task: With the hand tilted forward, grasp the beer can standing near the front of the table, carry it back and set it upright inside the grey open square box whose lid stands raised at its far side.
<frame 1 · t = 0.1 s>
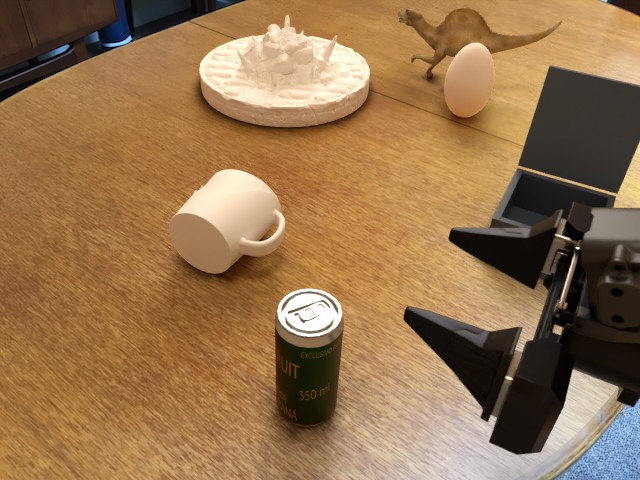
hand: (429, 270, 41), 18 cm above the table, tool horizontal, fingers open, 9 cm apart
egg: (461, 116, 95), on the table
dinosaur figurine: (462, 87, 103), on the table
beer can: (306, 404, 53), on the table
chest lid: (584, 130, 68), point 12 cm above the table, hinge at 100.0°
mug: (235, 251, 69), on the table
cake: (285, 87, 101), on the table
grey open square box: (541, 245, 71), on the table
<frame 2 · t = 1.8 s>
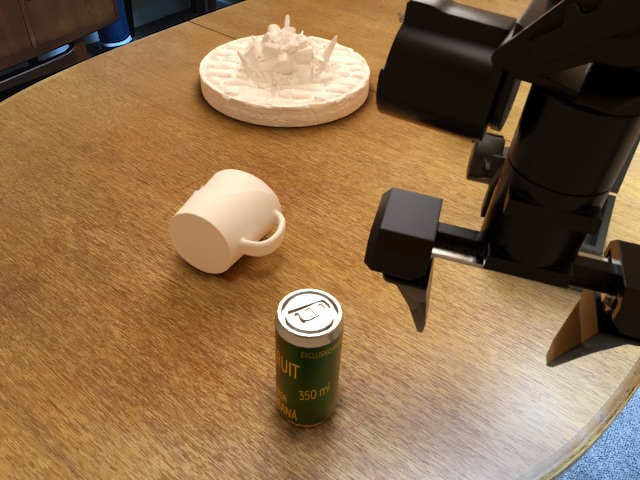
hand: (483, 344, 43), 13 cm above the table, tool pointing down, fingers open, 9 cm apart
nothing on the table moved.
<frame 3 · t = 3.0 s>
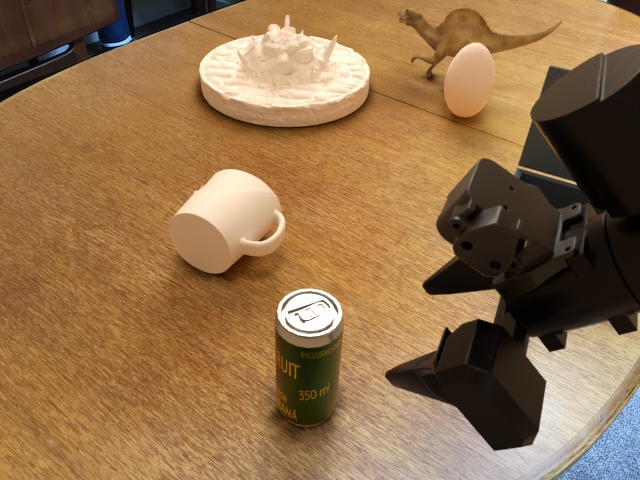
hand: (408, 330, 42), 13 cm above the table, tool tilted 45°, fingers open, 9 cm apart
nothing on the table moved.
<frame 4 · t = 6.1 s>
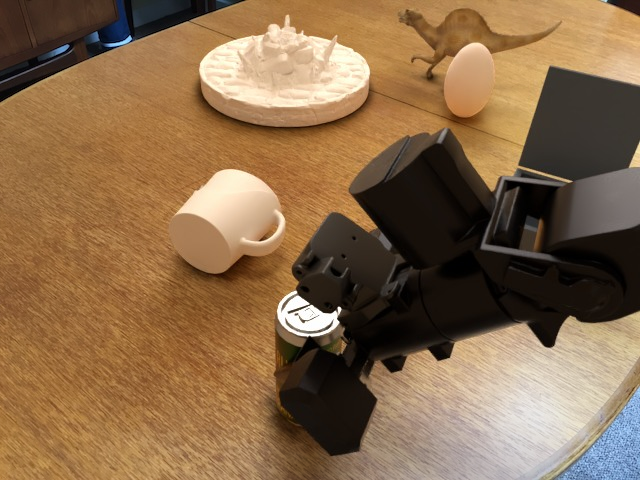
hand: (292, 351, 49), 7 cm above the table, tool tilted 45°, fingers closed on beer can, 5 cm apart
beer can: (306, 404, 53), on the table, touching gripper
everything else where it was.
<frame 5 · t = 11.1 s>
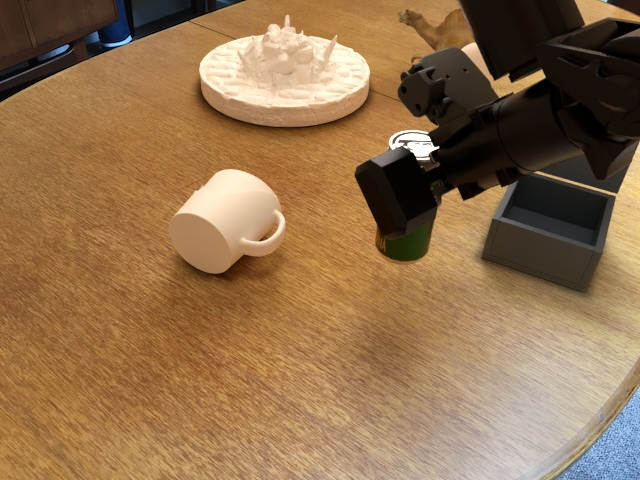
hand: (399, 188, 56), 13 cm above the table, tool tilted 45°, fingers closed on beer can, 5 cm apart
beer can: (400, 250, 60), point 7 cm above the table, touching gripper
everything else where it was.
when the fingers open (7 cm above the table, at t = 16.5 s): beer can stays where it is, resting on grey open square box.
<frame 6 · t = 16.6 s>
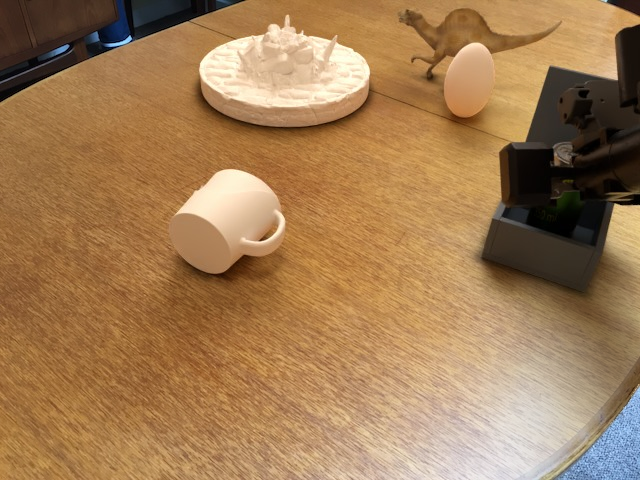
hand: (555, 188, 67), 7 cm above the table, tool tilted 45°, fingers open, 5 cm apart
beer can: (543, 242, 71), point 1 cm above the table, touching grey open square box
everything else where it was.
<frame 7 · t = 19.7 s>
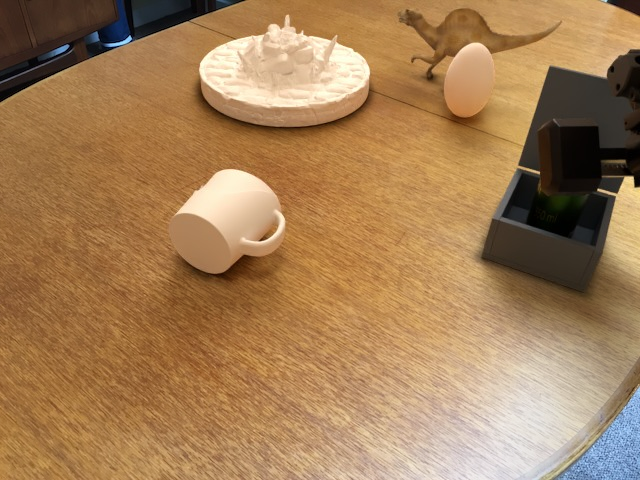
hand: (597, 175, 59), 13 cm above the table, tool tilted 45°, fingers open, 9 cm apart
nothing on the table moved.
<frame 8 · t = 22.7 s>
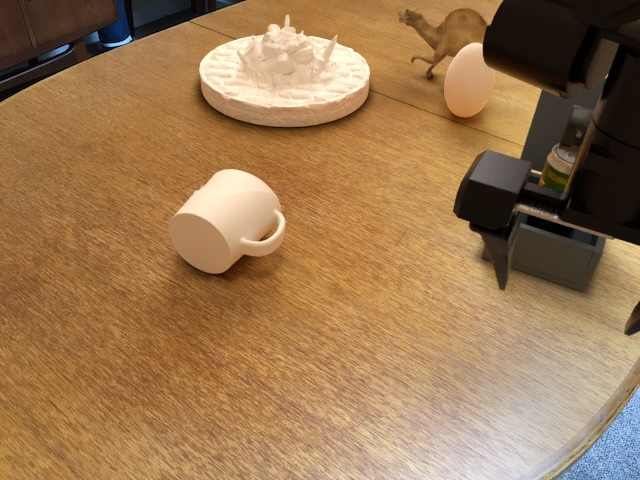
hand: (563, 308, 45), 13 cm above the table, tool pointing down, fingers open, 9 cm apart
nothing on the table moved.
at the end: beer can inside the target area in the grey open square box (0.1 cm from its centre), point 0.6 cm above the grey open square box's base; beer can tilted 0°; the gripper is holding nothing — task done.
